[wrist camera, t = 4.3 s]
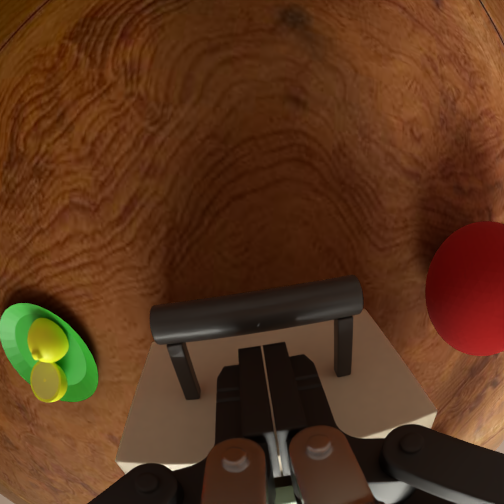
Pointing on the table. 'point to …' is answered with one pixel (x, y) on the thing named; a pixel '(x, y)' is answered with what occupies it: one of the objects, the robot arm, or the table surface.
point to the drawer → (258, 334)
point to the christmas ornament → (469, 289)
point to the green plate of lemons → (48, 354)
